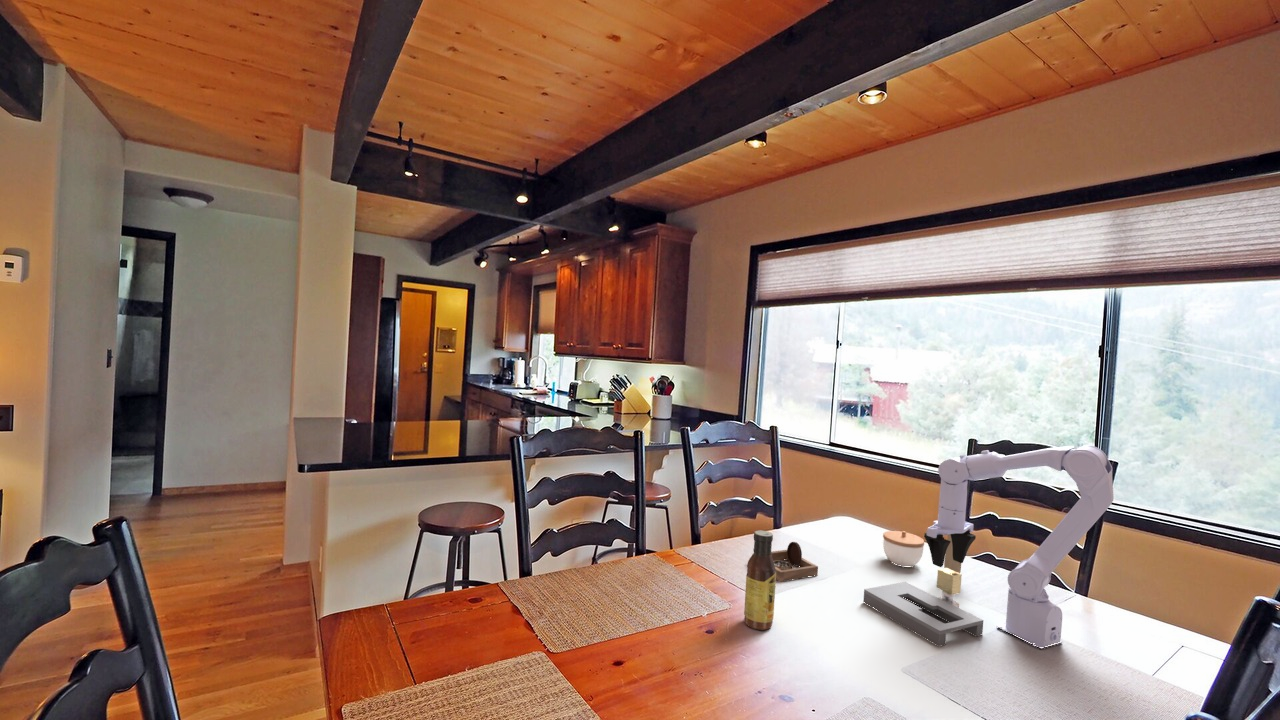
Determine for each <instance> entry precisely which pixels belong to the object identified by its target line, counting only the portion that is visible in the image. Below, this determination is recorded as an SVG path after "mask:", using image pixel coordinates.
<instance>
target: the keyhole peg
mask: <svg viewBox="0 0 1280 720" xmlns="http://www.w3.org/2000/svg"><path fill="white" fill-rule="evenodd" d="M961 586H962V574H961V572H960V573H957V572H955V571H953V570H950V569H948V568H943V567H941V568H938V569H937V577H936V588H937V589H938V590H941V591H942V592H941V597H939V598H940V599H942V600H944V601H946V602H948V603H950V604H952V605H954V606H956V607H958V608H960V604H959V603H958V602H957V601H955V600H954V595H956V594H960V593H961V590H962V589H961V588H962V587H961Z"/></svg>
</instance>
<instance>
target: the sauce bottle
mask: <svg viewBox="0 0 1280 720" xmlns="http://www.w3.org/2000/svg"><path fill="white" fill-rule="evenodd" d="M753 540H754V542H753V553H752V554H753V555H752V554H751V556H750V557H749V559H748V560H747V567H746V568H747V569H746V571H747V572H746V575H745V576H746V577H745V592H744V593H745V594H744V595H745V596H744V610H743V611H744V612H743V614H744V619H743V620H744V621H743V622H744V623H745V624H746V625H747V626H748V627H749V628H751V629H754V630H759V631H765V630H768V629H771V628H772V626H773V623H774V614H775V612H774V611H775V598H776V596H775V595H776V583H777V582H776V581H777V579H776V569H775V565H774V562H773V558H772V554H771V553H772V552H773V551H772V543H773V540H774V534H773V533H772V532H769V531H767V530H760V529H759V530H755V531H754V533H753Z"/></svg>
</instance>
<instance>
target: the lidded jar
mask: <svg viewBox="0 0 1280 720" xmlns="http://www.w3.org/2000/svg"><path fill="white" fill-rule="evenodd" d="M882 537H883V541H882V544H883V551H884V552H883V553H884V554H885V556H886V558H887V559H888V560H889V562H890V561H891V562H893V563H895V564H897V565H901V566H913V567H914V566H915V565H917V564H918V563H919V562H920V560H921V559H922V557H923V553H924V547H925V546H924V545H925V539H923V538H922V537H920V536H919V535H916V534H913V533H911V532H907V531H905V530H902V531H899V530H887V531H885V532H883V535H882ZM891 562H890V563H891Z"/></svg>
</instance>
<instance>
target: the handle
mask: <svg viewBox="0 0 1280 720" xmlns="http://www.w3.org/2000/svg"><path fill="white" fill-rule="evenodd" d="M946 540H948V541H951V542H950V544H949V546H948V548H947V550H946V553H945V558H944V564H943V567H944V568H948V569H950V570H953V571H955V572H957V573H960V574H961V571H962V563H960V562H957V561H955V560H953V547H952V539H951V535H950V534H948V535H947V539H946Z"/></svg>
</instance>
